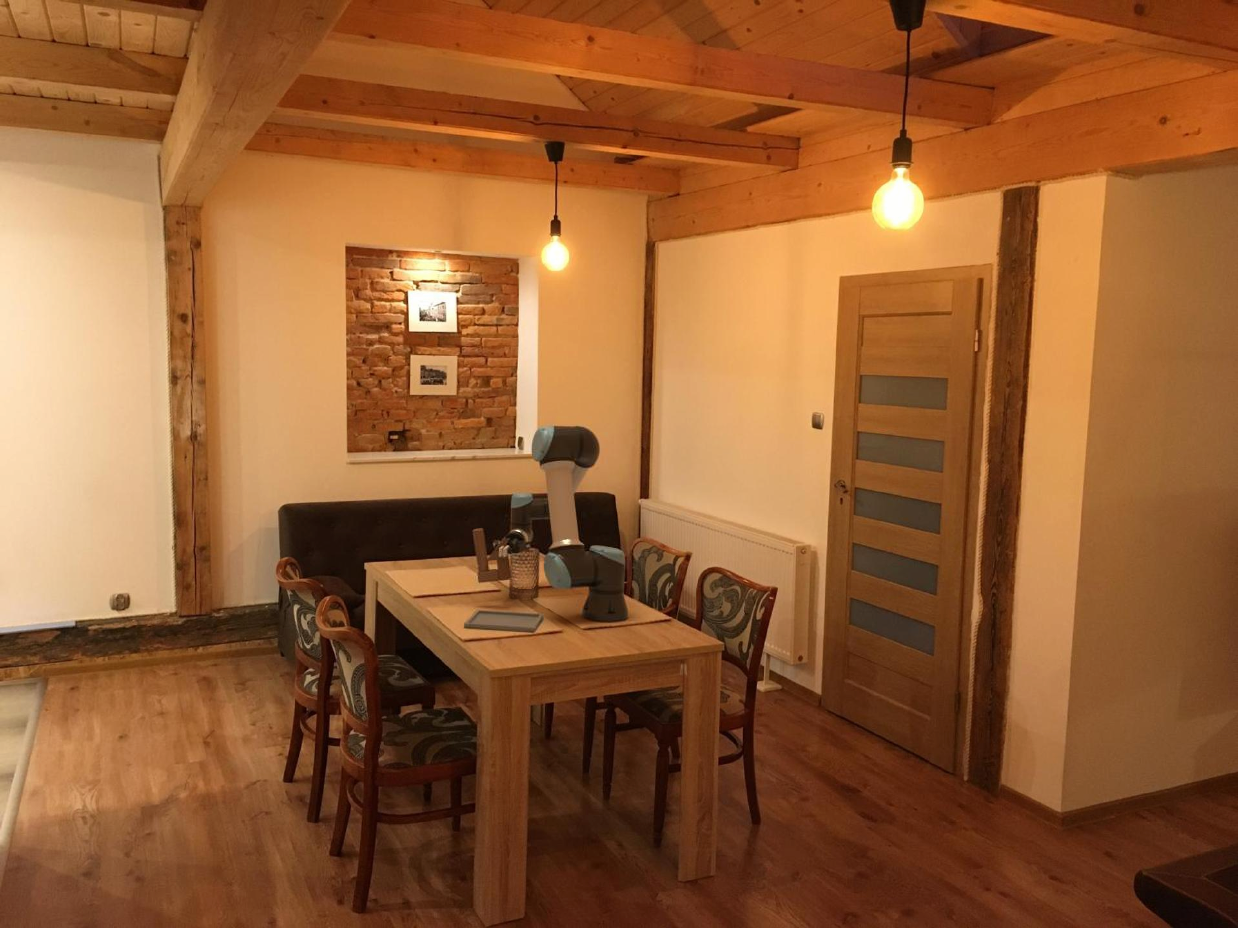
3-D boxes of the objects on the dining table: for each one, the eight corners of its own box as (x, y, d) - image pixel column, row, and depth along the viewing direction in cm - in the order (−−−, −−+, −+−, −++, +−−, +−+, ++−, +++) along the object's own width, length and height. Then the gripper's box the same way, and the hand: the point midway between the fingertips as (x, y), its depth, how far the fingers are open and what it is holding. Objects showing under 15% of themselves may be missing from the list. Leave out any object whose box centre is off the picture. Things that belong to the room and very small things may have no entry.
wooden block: (509, 579, 355) (502, 527, 353) (478, 583, 356) (470, 530, 354) (511, 577, 358) (504, 525, 357) (480, 581, 359) (473, 529, 358)
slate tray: (543, 618, 346) (543, 613, 346) (533, 632, 328) (533, 627, 328) (477, 614, 348) (477, 609, 348) (464, 627, 330) (464, 623, 330)
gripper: (534, 552, 372) (522, 564, 349) (496, 550, 373) (481, 562, 350) (535, 531, 371) (523, 542, 348) (496, 529, 373) (481, 540, 349)
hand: (502, 552), depth 349 cm, fingers closed on wooden block
